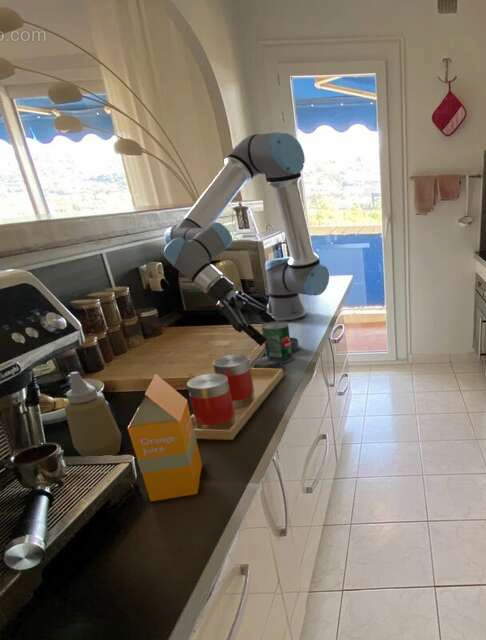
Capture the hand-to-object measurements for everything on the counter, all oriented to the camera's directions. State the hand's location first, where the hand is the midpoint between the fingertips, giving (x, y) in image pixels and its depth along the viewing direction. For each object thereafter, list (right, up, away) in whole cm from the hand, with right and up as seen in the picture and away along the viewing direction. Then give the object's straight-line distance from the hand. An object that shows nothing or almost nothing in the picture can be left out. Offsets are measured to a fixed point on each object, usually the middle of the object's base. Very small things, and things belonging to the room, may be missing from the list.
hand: (272, 335), depth 136 cm
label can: (-2, -25, -36) cm, 44 cm away
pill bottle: (-27, -26, -36) cm, 52 cm away
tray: (-1, -21, -25) cm, 32 cm away
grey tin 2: (+2, -3, +11) cm, 12 cm away
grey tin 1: (+1, -11, -5) cm, 12 cm away
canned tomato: (+1, -7, +3) cm, 8 cm away
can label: (-1, -20, -25) cm, 32 cm away
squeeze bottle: (-20, -31, -46) cm, 59 cm away
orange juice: (-1, -35, -54) cm, 64 cm away
